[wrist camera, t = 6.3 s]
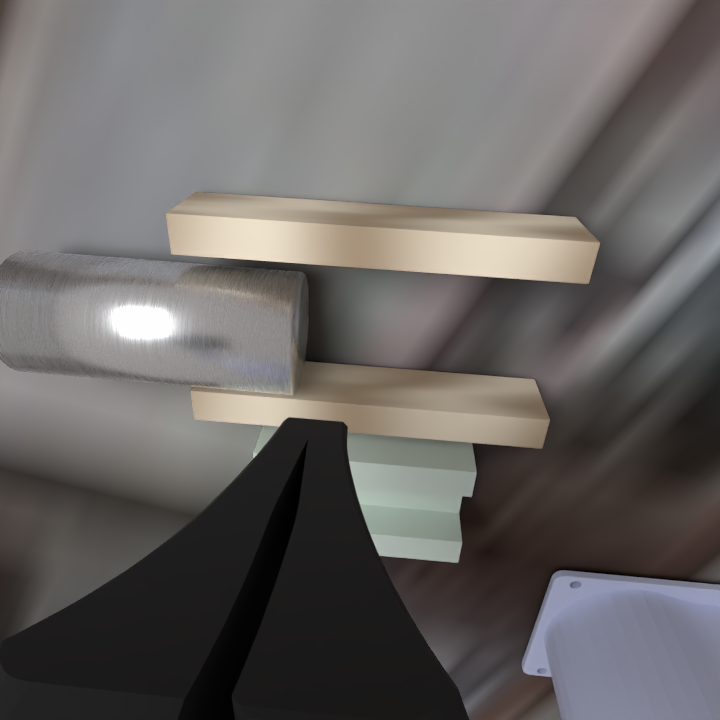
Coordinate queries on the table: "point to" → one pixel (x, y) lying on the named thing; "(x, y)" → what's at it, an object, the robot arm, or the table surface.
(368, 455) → the v block
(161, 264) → the axle
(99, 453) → the table surface
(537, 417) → the parallel rails
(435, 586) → the table surface
